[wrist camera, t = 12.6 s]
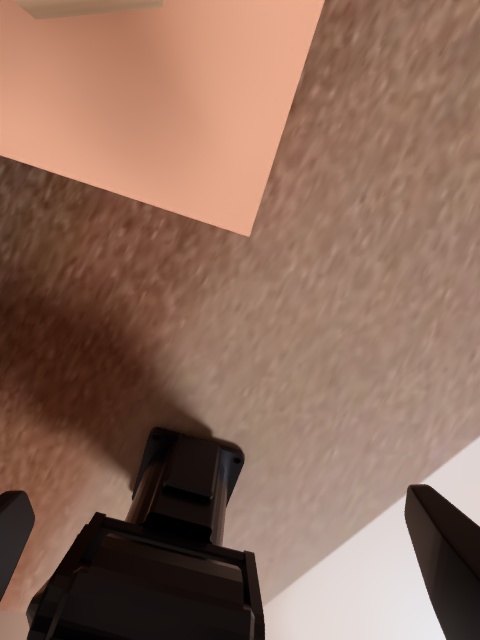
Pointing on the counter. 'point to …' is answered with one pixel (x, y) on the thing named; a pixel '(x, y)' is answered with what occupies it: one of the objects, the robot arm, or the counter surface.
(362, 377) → the counter surface
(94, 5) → the birch block
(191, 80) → the terracotta stand
